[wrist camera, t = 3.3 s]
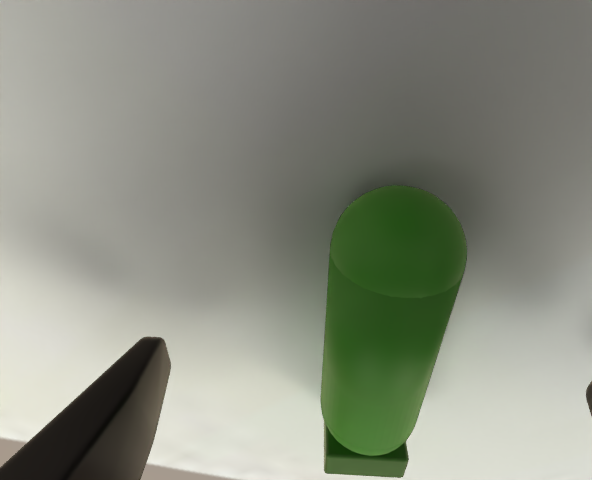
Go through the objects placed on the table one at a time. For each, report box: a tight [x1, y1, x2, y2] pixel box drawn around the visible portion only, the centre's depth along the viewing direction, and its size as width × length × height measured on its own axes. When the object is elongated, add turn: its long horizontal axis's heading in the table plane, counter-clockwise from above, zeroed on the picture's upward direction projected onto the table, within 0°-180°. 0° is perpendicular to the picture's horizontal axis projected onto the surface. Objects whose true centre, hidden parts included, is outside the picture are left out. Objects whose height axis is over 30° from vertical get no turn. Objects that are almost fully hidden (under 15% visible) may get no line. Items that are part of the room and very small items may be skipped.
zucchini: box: [321, 185, 467, 478], centre depth 9 cm, size 8×2×2 cm, turn 0°
